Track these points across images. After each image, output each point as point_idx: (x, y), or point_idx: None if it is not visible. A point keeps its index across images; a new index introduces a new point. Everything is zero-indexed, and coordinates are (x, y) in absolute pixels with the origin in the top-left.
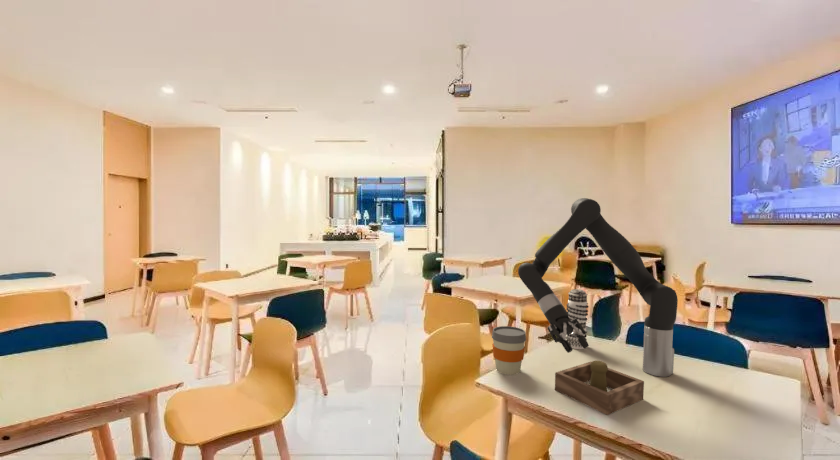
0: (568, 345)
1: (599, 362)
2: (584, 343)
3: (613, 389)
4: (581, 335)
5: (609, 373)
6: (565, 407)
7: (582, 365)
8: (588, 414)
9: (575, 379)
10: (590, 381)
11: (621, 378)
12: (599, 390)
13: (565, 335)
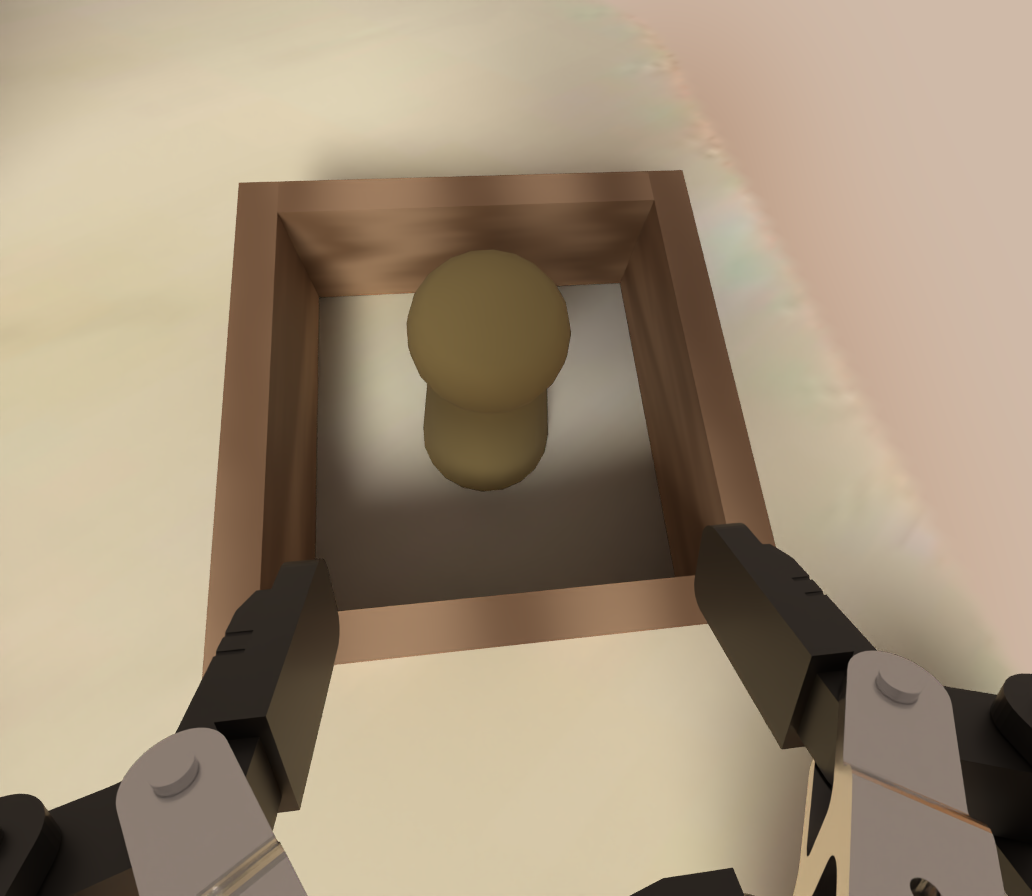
0: (784, 576)
1: (501, 290)
2: (316, 621)
3: (575, 201)
4: (232, 751)
5: (278, 434)
6: (803, 406)
7: (398, 629)
8: (731, 303)
9: (715, 424)
10: (534, 432)
11: (284, 334)
12: (680, 231)
13: (856, 759)
